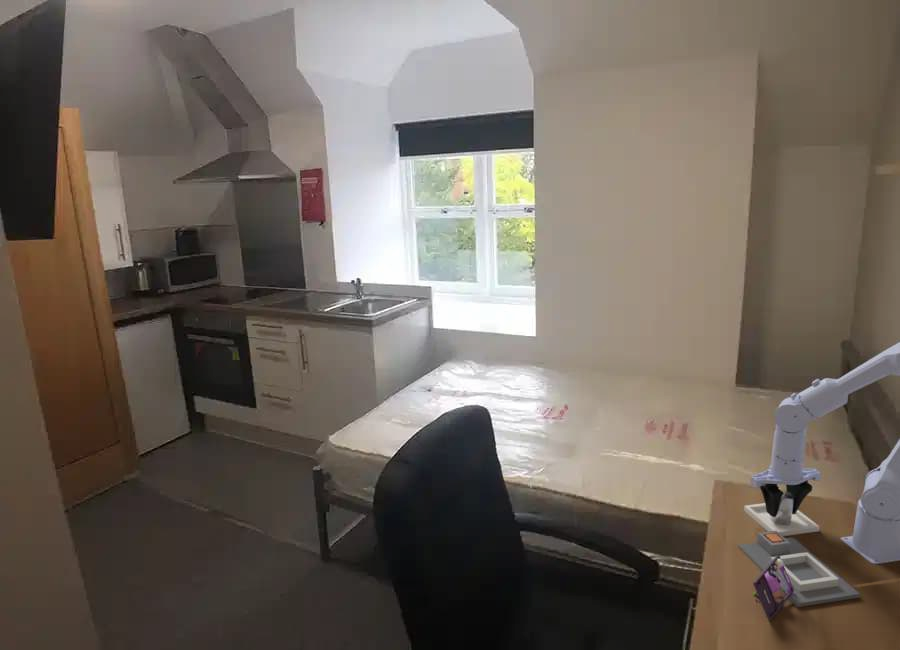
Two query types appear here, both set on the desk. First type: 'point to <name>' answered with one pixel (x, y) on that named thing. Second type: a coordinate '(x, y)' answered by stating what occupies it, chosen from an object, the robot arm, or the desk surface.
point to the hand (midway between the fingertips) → (781, 512)
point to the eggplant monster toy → (771, 587)
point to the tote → (797, 525)
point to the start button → (773, 538)
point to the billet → (784, 509)
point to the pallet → (799, 571)
